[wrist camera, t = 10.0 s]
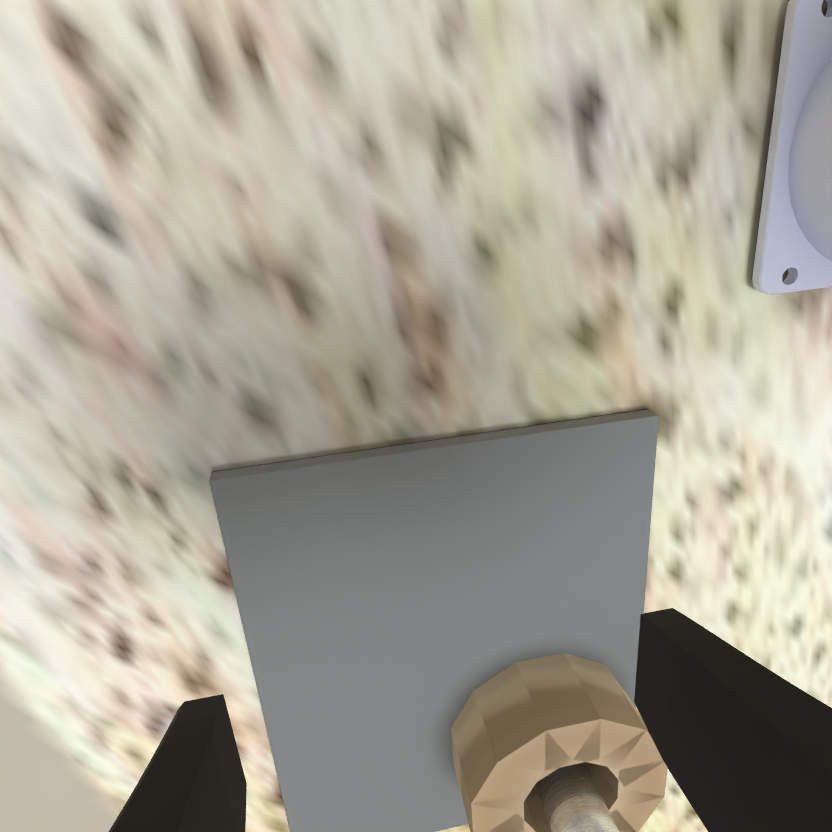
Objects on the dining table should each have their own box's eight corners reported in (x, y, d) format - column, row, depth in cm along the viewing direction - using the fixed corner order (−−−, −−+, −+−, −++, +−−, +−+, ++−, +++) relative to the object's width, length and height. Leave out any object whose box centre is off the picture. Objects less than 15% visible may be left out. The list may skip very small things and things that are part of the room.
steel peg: (549, 698, 23) (662, 938, 16) (573, 727, 24) (692, 969, 16) (505, 727, 23) (597, 978, 16) (531, 755, 24) (630, 1006, 17)
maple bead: (629, 639, 23) (674, 703, 20) (620, 772, 25) (659, 844, 23) (446, 675, 22) (467, 747, 19) (456, 809, 24) (476, 889, 22)
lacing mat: (649, 409, 20) (658, 415, 19) (623, 773, 26) (630, 786, 26) (212, 471, 18) (209, 481, 18) (297, 847, 24) (297, 863, 24)
